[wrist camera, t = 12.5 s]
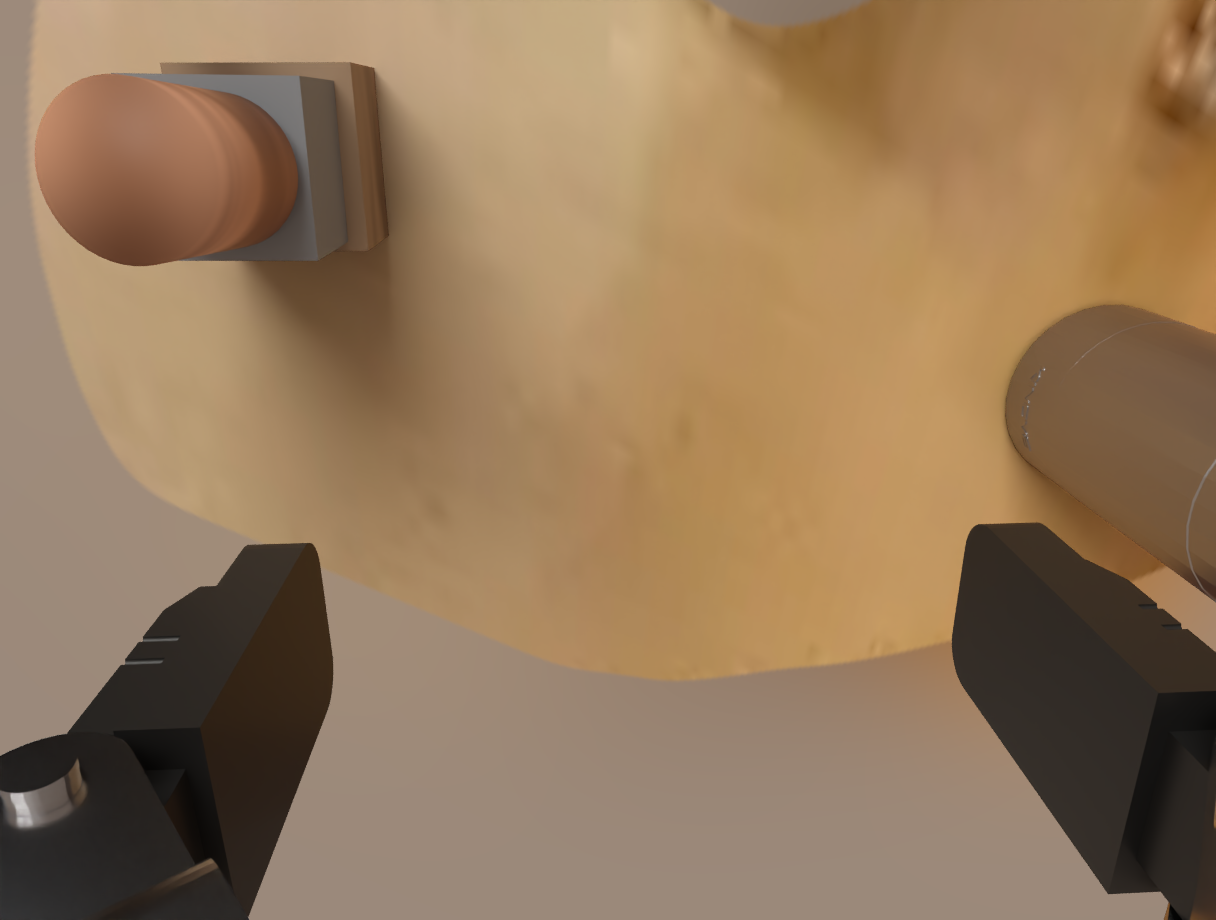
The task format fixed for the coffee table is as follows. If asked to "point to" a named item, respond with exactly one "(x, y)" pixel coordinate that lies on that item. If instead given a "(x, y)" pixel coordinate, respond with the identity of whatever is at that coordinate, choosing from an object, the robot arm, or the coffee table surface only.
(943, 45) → the coffee table surface
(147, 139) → the brown rounded knob
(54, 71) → the coffee table surface
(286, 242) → the tower top
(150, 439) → the coffee table surface
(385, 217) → the tower base
